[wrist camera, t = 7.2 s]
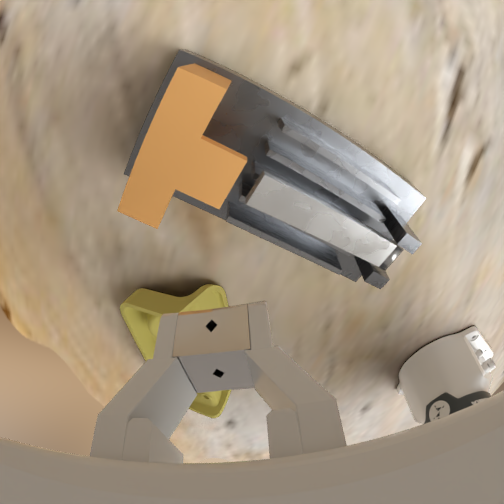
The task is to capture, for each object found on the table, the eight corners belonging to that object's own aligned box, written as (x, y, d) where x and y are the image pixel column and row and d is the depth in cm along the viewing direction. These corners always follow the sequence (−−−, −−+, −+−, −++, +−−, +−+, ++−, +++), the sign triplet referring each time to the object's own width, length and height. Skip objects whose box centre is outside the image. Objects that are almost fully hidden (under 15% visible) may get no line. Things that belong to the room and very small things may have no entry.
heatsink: (412, 184, 29) (449, 223, 22) (348, 263, 34) (367, 313, 28) (186, 49, 22) (164, 49, 15) (134, 161, 27) (103, 198, 21)
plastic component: (114, 298, 34) (182, 320, 29) (153, 263, 39) (221, 275, 35) (167, 399, 44) (224, 423, 39) (192, 365, 49) (248, 384, 45)
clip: (268, 99, 21) (275, 114, 17) (207, 206, 26) (198, 247, 22) (194, 63, 20) (177, 67, 15) (141, 176, 25) (117, 211, 20)
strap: (399, 243, 26) (405, 252, 25) (382, 263, 27) (387, 272, 26) (262, 168, 21) (265, 176, 20) (245, 197, 22) (246, 206, 21)
